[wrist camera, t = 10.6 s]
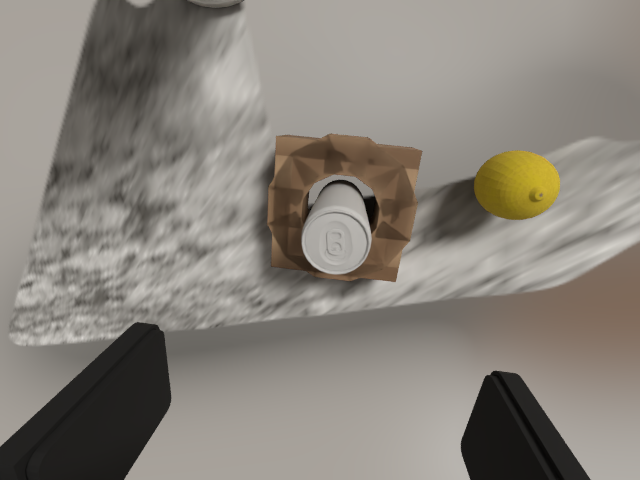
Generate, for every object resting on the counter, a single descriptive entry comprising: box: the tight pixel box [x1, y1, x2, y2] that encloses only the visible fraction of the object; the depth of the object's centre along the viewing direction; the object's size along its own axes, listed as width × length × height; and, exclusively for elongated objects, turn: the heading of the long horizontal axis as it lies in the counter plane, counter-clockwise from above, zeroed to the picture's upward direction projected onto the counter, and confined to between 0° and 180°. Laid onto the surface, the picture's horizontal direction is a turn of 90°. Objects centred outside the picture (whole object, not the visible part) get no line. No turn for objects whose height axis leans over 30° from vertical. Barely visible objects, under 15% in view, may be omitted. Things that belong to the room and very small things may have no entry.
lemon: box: [474, 150, 560, 220], centre depth 25 cm, size 6×6×8 cm
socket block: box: [267, 134, 422, 282], centre depth 29 cm, size 13×13×4 cm
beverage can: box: [301, 180, 372, 275], centre depth 26 cm, size 5×5×12 cm
